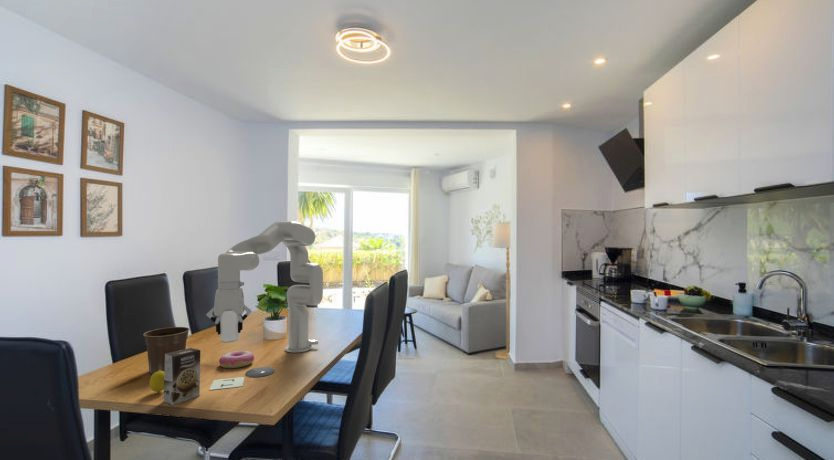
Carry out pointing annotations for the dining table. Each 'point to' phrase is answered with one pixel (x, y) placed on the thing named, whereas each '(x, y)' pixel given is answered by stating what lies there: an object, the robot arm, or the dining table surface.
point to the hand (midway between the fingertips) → (229, 332)
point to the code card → (227, 383)
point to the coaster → (260, 371)
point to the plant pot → (164, 345)
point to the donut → (236, 359)
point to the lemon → (157, 381)
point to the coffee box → (182, 375)
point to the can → (229, 326)
